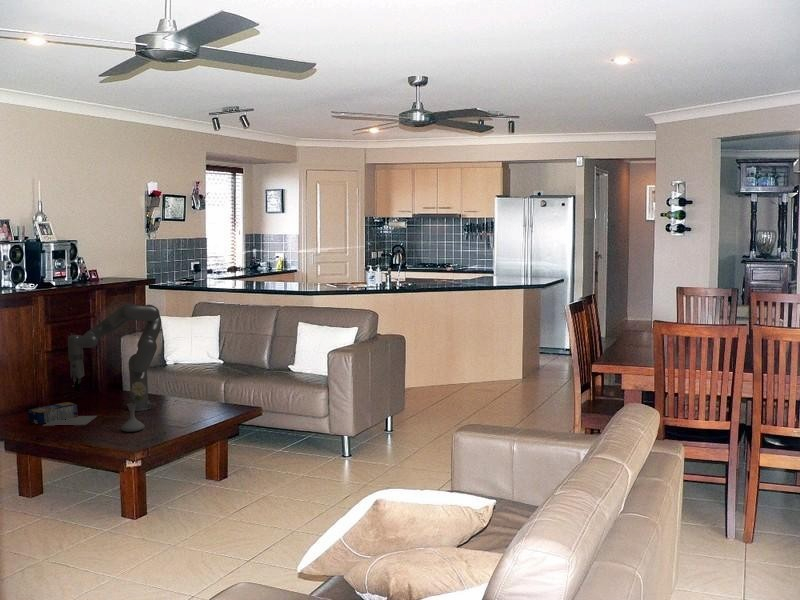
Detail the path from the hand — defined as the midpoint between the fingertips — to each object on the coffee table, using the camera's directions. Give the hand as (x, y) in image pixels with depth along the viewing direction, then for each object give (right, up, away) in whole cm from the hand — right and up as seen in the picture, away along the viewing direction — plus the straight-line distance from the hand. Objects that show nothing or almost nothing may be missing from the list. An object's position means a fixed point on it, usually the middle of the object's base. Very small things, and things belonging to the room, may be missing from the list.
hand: (77, 390), depth 461 cm
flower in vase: (+42, -17, -34) cm, 57 cm away
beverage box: (-2, -10, -1) cm, 11 cm away
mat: (+1, -15, -12) cm, 20 cm away
